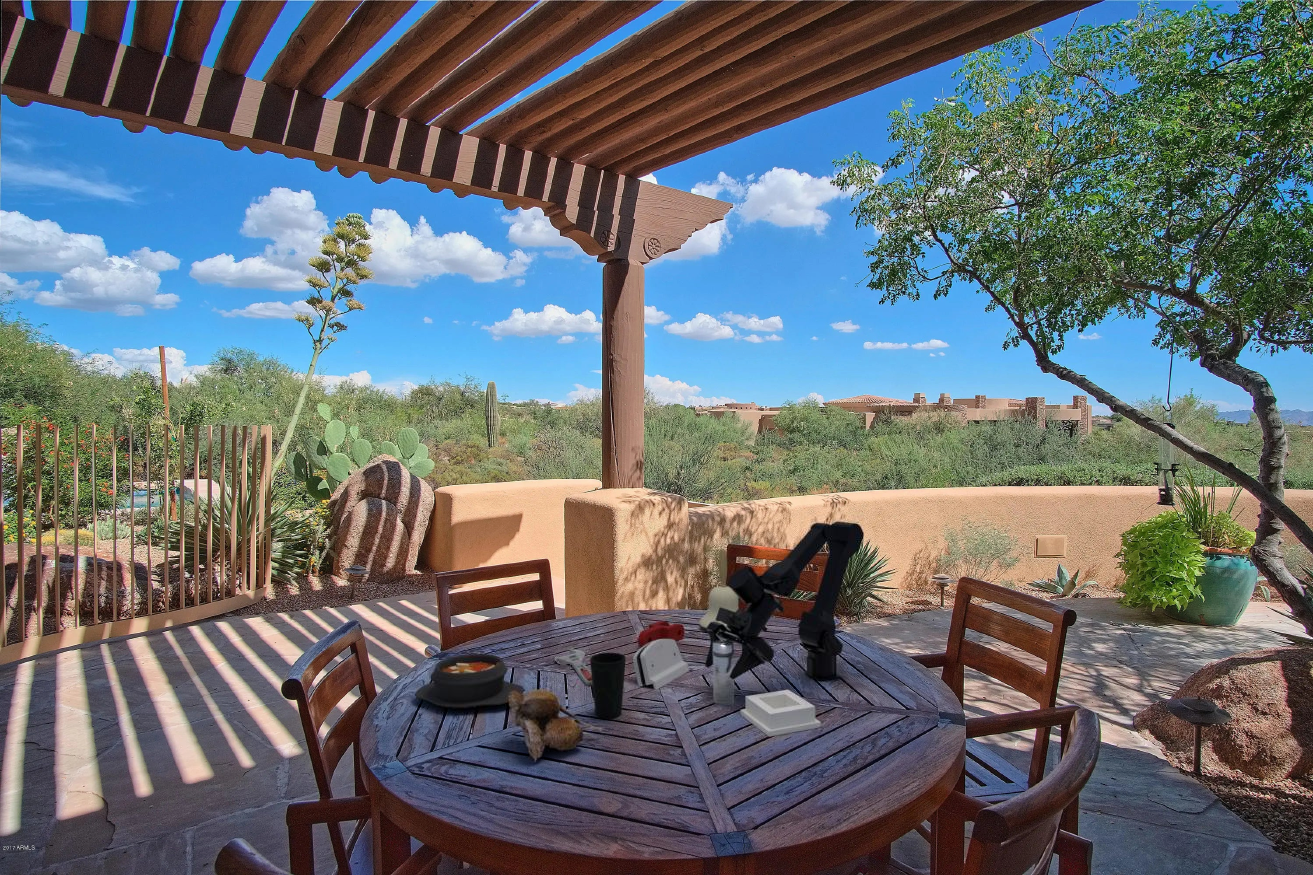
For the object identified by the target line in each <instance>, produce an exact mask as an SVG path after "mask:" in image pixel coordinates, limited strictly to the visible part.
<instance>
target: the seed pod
mask: <svg viewBox="0 0 1313 875" xmlns="http://www.w3.org/2000/svg"><path fill="white" fill-rule="evenodd" d="M508 697H509V699H508V706H509V707H510V708H511V711H512V714H513V720H514V721H513V722H514V723H513V724H514V725H515V727H517V728H518V727H520V728H521V731H522V733H523V737H524V740H525V745H526V746H527V749H528V753H529V756H530V757H532V759H534V762H536V761H537V759H538V758H541V757H542V755H543V752H544V750H545V748H546V746H548V747H549V748H550V749H552V748H553V749H556V750H558V751H560V752H561V751H566V752H568V750H569V751H570V750H573V749H574V748H576V747H577V745H579V743H581V742H583V737H584V731H587V730H591V729H592V730H596V731H599V732H602V730H603V727H602V726H598V727H597V726H594V725H592V724H589V723H586V722H583V721H581V720H580V719H579V718H577V717H576V716H575V715H573V714H572V713H571V712H569V711H567V709H564V707H563V705H562V704H560V703H559V701H558V700H559V699H558V697H557V695H556V694H554V693H553V692H552V691H549V690H546V689H535V690H530V691H527V692H525V693H523V694H522V693H521V692H519V691H518V690H513V691H511V692H509V695H508ZM560 712H562V713H563V714H565V715H567V716H568V717H570V718H568V717H567V716H564V717H563V716H559V714H560ZM581 725H585V726H582V727H581Z"/></svg>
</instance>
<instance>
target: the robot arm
mask: <svg viewBox="0 0 1313 875" xmlns="http://www.w3.org/2000/svg"><path fill="white" fill-rule="evenodd" d="M864 537H865V533H864V531H863V528H862V526H861V525H860V524H859V523H855V522H849V521H848V522H846V521H839V520H838V521H837V520H836V521H834V522H832V523H831V524H829V523H823V522H815V523H813V524H812V525H811V526H810V529H809V530H808V532H807V533H805V535H804V537H803V538H802V539H801V540H800V541H799V542H798V543H797V544H796V545H795V546H794V548H793V549H792V550H791V551H790V553H788V554H787V556H786V557H784V559H782V560H780V561H778V562H776V563H773V564H772V565H771V566H770V567H769V568H767V569H766V570H765V571H764V572H763V573H762V574H760V575H758V574H757V573H756V572H755V569H754V568H753V567H752V566H750V565H744V566H743V568H742V569H739V570H737V571H736V572H734V573H732V574H731V575H730V577H729V579H728V581H727V586H728V587H730V588H731V589H732V590H733V592H734V593H735V594H736V595H737V596H738V599H740V600H741V601H742V603H743V604H747V606H746V607H745V609H744V610H743V609H740V608H738V610H737V611H736V612H733V611H730V610H728V609H724V608H721V607H720V608H719V611H718V614H717V616H716V619H715V620H716V621H718V622H719V621H721V622H723V623H724V624H727V628H728V629H730V630H728V629H727V628H726V627H725V626H724V625H723V624H721V623H718V622H715V621H714V622H710V624H709V625H708V626H707V628H705V629H706V631H707V635H708V636H709V640H710V643H709V648H708V652H707V656H706V659H705V663H704V666H705V667H706V668H707V669H710V667H711V666H712V667H713V654H712V650H713V642H715V641H720V640H725V641H731V642H733V644H737V645H739V646H741V654H740V656H739V658H738V659H737V662H736V663H735V664H734V668H733V670H732V672H731V674H730V678H731V679H734V680H735V679H737V678H739V677H740V676H742V675H744V674H745V673H747V672H749V671H750V670H753V669H755V668H757V667H759V666H761V665H765V664H766V663H767V664H771V663H772V660H773V658H774V657H775V649H773V647H772V646H771V644H769V643H768V642H767V641H766V640H765V639H764V638H762V637H760V635H761V633H762V632H763V633H767V631H768V628H767V626H766V625H767V623H768V622H769V620H770V619H771V617H772V616H773V614H774V613H775V612H779V613H782V614H783V613H784V606H783V601H782V600H781V599H777V598H776V597H775V596H779V597H783V598H784V597H786V598H787V597H790V596H791V595H792V594H793V593H794V591H795V590H796V589H797V587H798V585H799V583H800V580H801V574H802V572H803V571H804V569H806V568H807V566H808V565H809V563H810V562H811V561H812V560H813V559H814V558H815V557H816V555H817V554H818V553H819V552H820V550H821V549H822V548H823V547H824V546H825V545H826V543H827V546H828V552H829V553H828V554H829V555H828V557H827V561H826V564H825V567H824V571H823V574H822V578H821V580H820V584H819V586H818V590H817V593H816V594H817V595H816V597H815V600H814V603H813V606H812V608H811V609H810V610H809V611H805V610H804V611H803V612H802V613H801V615H800V620H799V623H798V625H797V627H798V631H797V632H798V633H797V634H798V636H799V639H800V641H801V644H802V647H803V649H805V650H807V656H806V670H804V674H805V675H808V676H809V677H811V678H813V679H815V680H816V681H819V682H822V681H827V680H834V679H840V678H841V677H842V676H841V675H840V674H838V673H837V672H838V671H837V667H838V666H837V665H838V664H837V656H838V655H840V654H842V652H843V648H844V645H843V643H842V642H841V640H839V638H837V636H836V629H837V625H836V621H835V617H834V612H835V608H836V606H837V602H838V598H839V595H840V591H841V588H842V585H843V583H844V582H843V581H844V579H845V578H844V577H845V574H846V571H847V569H848V565H849V564H848V563H849V561H850V559H851V558H852V557H853V556H854V555H855V554H856V553H857V552H858V551H859V549H860V547H861V544H862V543H863V542H864V541H863V540H864ZM774 595H775V596H774Z"/></svg>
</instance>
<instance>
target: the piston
mask: <svg viewBox="0 0 1313 875" xmlns="http://www.w3.org/2000/svg"><path fill="white" fill-rule="evenodd" d="M734 647H735V646H734V643H733V642H731V641H725V640H720V641H715V642H713V650H712V654H713V665H712V674H713V675H712V676H713V677H712V678H713V679H712V680H713V682H712V683H713V686H712V687H713V693H712V694H713V703H714V704H715V705H718V706H731V705H733V704H735V679H731V678H730V674H731V672H732V670H733V668H734V666H735V664H734V663H735V662H734V659H735V657H734V656H735V650H734V649H735V648H734Z"/></svg>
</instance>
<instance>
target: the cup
mask: <svg viewBox="0 0 1313 875" xmlns="http://www.w3.org/2000/svg"><path fill="white" fill-rule="evenodd" d="M626 661H627V660H626V655H625V654H622V653H618V652H601V653H596V654H593V655H592V656H591V657H590V658H589V664H590V671H591V674H592V684H593V685H592V693H593V701H594V702H593V703H594V711H595V717H597V718H598V719H602V720H612V719H616V718H619V717H620V716H621V715H622V713H623V712H622V711H623V710H622V709H623V696H624V683H625V674H626V671H625V670H626Z"/></svg>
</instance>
